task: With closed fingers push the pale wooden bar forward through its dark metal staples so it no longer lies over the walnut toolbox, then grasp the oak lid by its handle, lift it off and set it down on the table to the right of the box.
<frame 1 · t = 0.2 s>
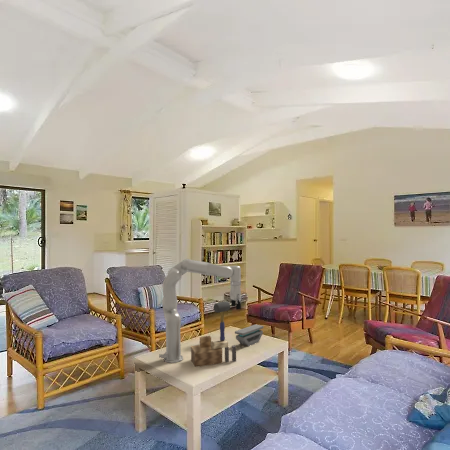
hand: (235, 307, 240), 31 cm above the table, fingers open, 9 cm apart
sharpening stone: (249, 343, 257), on the table
rubber mallet: (222, 341, 263), on the table
lid: (206, 349, 222), point 8 cm above the table, touching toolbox
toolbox: (206, 361, 221), on the table
pale wooden bar: (219, 344, 220), point 12 cm above the table, slide at 0.0 cm
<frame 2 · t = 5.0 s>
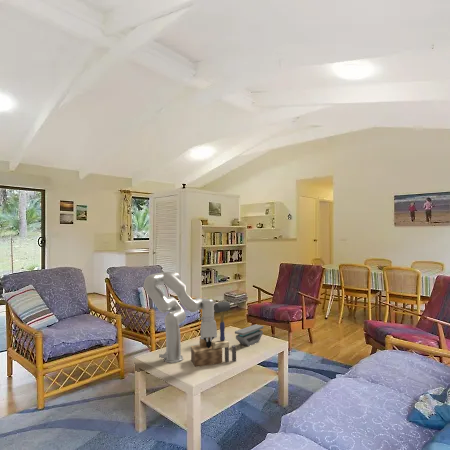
hand: (208, 347, 217), 11 cm above the table, fingers closed
pale wooden bar: (220, 344, 220), point 12 cm above the table, slide at 0.6 cm, touching gripper
everything else where it was.
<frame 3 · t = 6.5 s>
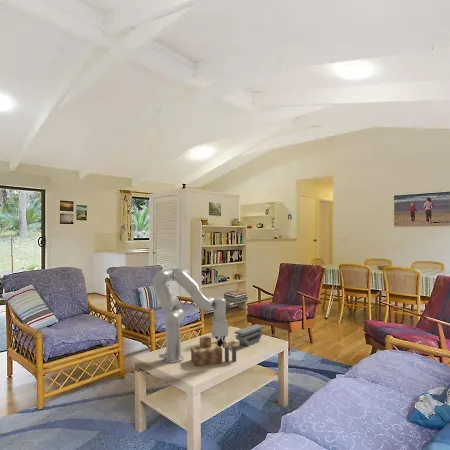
hand: (219, 346, 220), 11 cm above the table, fingers closed
pale wooden bar: (231, 343, 222), point 12 cm above the table, slide at 8.0 cm, touching gripper, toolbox
everything else where it was.
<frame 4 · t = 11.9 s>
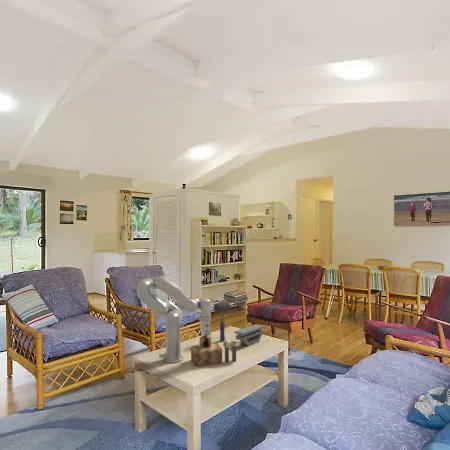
hand: (205, 345, 224), 10 cm above the table, fingers closed on lid, 3 cm apart
lid: (206, 349, 222), point 8 cm above the table, touching gripper, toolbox
pale wooden bar: (232, 343, 222), point 12 cm above the table, slide at 8.7 cm, touching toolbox
everything else where it was.
when the fingers open (4 cm above the table, at t = 18.3 s): lid drops 2 cm, point 1 cm above the table.
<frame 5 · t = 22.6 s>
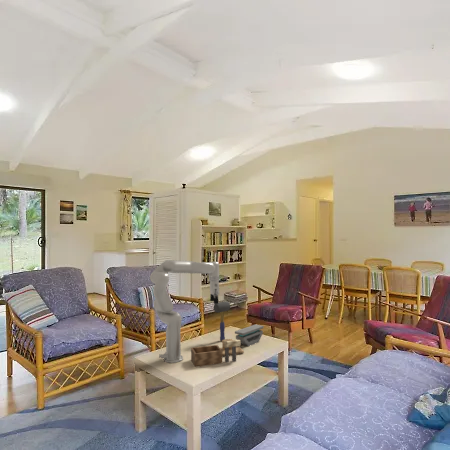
hand: (214, 302, 248), 33 cm above the table, fingers open, 9 cm apart
lid: (228, 351, 238), point 1 cm above the table
everything else where it was.
at the end: pale wooden bar slide at 8.7 cm; lid inside the target area (0.8 cm from its centre), point 0.7 cm above the table; lid tilted 0° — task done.
